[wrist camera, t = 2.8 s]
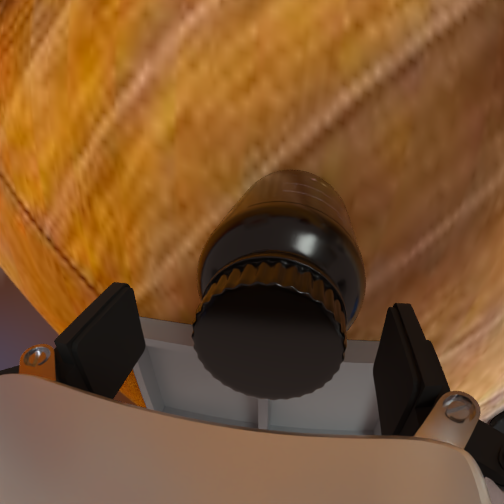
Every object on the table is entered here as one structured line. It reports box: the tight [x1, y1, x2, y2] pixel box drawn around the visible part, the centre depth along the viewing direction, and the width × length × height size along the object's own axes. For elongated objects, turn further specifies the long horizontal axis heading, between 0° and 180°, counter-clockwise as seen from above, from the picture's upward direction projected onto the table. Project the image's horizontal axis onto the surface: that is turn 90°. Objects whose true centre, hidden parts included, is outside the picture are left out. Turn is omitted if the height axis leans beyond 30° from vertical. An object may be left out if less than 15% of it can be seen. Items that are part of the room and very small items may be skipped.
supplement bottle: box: [191, 170, 366, 400], centre depth 15 cm, size 7×7×12 cm
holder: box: [133, 317, 381, 435], centre depth 25 cm, size 23×12×2 cm, turn 91°
